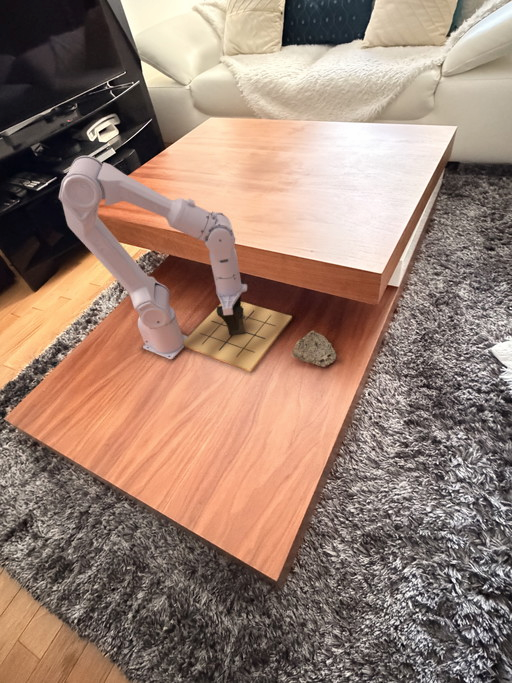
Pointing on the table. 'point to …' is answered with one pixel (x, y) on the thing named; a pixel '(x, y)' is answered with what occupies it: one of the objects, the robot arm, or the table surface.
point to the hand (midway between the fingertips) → (235, 319)
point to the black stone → (240, 325)
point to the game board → (238, 336)
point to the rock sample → (314, 350)
